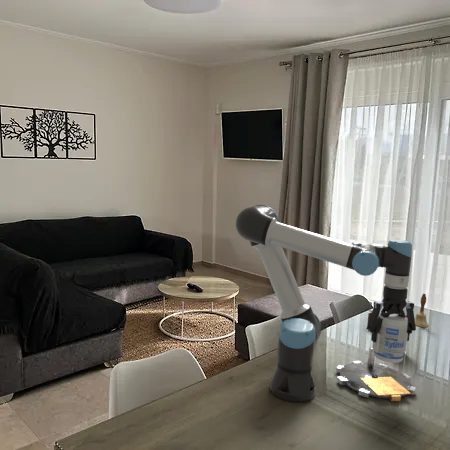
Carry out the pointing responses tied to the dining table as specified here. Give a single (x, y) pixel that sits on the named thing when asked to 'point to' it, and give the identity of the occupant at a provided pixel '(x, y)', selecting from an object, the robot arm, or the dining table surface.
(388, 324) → the supplement tub
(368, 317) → the ruin model on sheet
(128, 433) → the dining table surface
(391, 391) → the sprocket
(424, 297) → the hand bell
